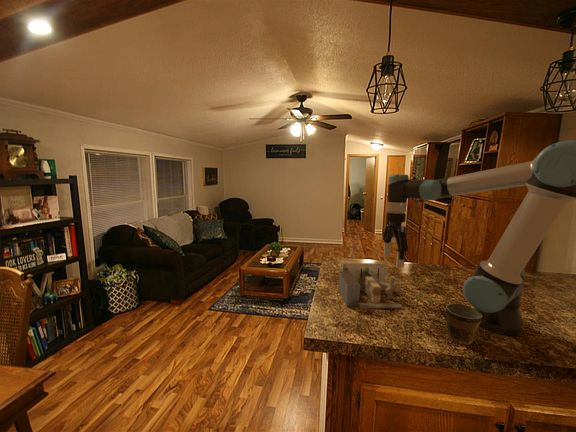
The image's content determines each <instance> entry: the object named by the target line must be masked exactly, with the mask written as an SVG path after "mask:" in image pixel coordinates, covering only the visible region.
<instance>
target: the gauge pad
mask: <svg viewBox="0 0 576 432" xmlns="http://www.w3.org/2000/svg"><path fill="white" fill-rule="evenodd" d="M363 291H364V293H365V294H366V295H367V297H368V298H369V300H370V301H371V302H372V303H381V292H382V290H381V287H380V286H379V284H378V283H377V282H376V281H375V280H374V279H373V277H372V276H371V275H370V274H368V276H365V284H364V290H363Z"/></svg>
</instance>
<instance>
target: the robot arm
mask: <svg viewBox="0 0 576 432" xmlns="http://www.w3.org/2000/svg"><path fill="white" fill-rule="evenodd" d="M387 184H388V185H387V201H386V211H387V212H386V213H385V214H386V215H385V216H386V217H385V219H386V220H385V221H386V223H385V227H384V231H383V234H382V241H383V242H384V244H383V245H384V246H383V258H391V252H392V251H391V249H392V239H393V237H394V238H395V242H396V247H397V249H396V263H395V264H396V265H395V267H396V268H404V267H405V266H404V265H405V254H406V252H408V251H409V248H408V241H407V240H408V239H407V234H406V231H407V230H406V229H407V227H406V226H405V225H402V224H403V223H405V222H406V221H407V220H406V219H407V213H406V212H407V207H408V202H407V201H408V199H411V200H424V201H437V200H438V199H445V198H449V197H455V196H462V195H468V194H469V195H471V194H476V193H483V192H490V191H497V190H504V189H510V188H512V189H513V188H518V187H525V186H526V188H527V191H528V192H527V193H526V195H525V196H524V198H523V200H522V202H521V203H520V205H519V206H518V208H517V210H516V212H515V214H514V215H513V217H512V218H511V220H510V222H509V223H508V225H507V227H506V229H505V230H504V232H503V233H502V236H501V237H500V239H499V241H498V242H497V244H496V246H495V248H494V249H493V251H492V253H491V254H490V256H489V258H488V259H486V260H481V261H480V262H479V264H478V265H477V267H476V269H475V270H474V272H473V274H472V275H471V277H468V278H467V279H466V280H465V282H464V283H463V286H462V293H463V296H464V298H465V300H466V301H467V302H468V304H470V306H471V307H472V308H474V309H476V310H478V311H479V312H480V313H481V314H482V319H481V322H480V325H479V327H481V328H482V329H484V330H487V331H489V332H492V333H496V334H499V335H504V336H511V337H512V336H513V337H514V336H519V335H521V334H523V332H524V323H523V320H522V314H521V310H520V307H521V301H522V296H523V290H524V283H525V279H526V268H525V267H526V266H527V264H528V263H529V261H530V259H531V258H532V256H533V255H534V254H535V252H536V250H537V249H538V247H539V246H540V244H541V243H542V242H543V240H544V239H545V236H546V235H547V234H548V232H549V231H550V229H551V228H552V226H553V224H554V223H555V222H556V220H557V219H558V217H559V216H560V214H561V213H562V211H563V209H564V208H565V206H566V205H567V204H568V203H570V202H573V201H576V140H573V139H571V140H570V139H569V140H564V141H563V140H562V141H559V142H555V143H552V144H550V145H548V146H547V147H545V148H544V149H542V150H541V151H540V152H539V153H538V154H537V156H535V158H534V159H533V160H530V161H526V162H520V163H516V164H515V163H514V164H510V165H504V166H500V167H497V168H496V167H495V168H491V169H485V170H480V171H476V172H475V171H474V172H469V173H466V174H465V173H464V174H460V175H456V176H455V175H454V176H450V177H445V178H439V179H410V177H409V174H391V175H389V177H388V182H387Z"/></svg>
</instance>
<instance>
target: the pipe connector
mask: <svg viewBox="0 0 576 432" xmlns="http://www.w3.org/2000/svg"><path fill="white" fill-rule="evenodd" d="M389 280H390V281H389V283H386V282H385V283H384V282H381V281H380V283H379V285H380V286H382V287H385V288H386V290H384V293H385V294H386V295H387V297H386V298H387V299H388V300H392V299H393V293H394V292H396V293H399V294H401V295H403V294H404V292H405V289H403V288H400V287H397V286H398V282H396V277H395V276H394V275H391V276H390V279H389ZM393 291H394V292H393Z"/></svg>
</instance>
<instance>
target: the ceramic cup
mask: <svg viewBox="0 0 576 432" xmlns="http://www.w3.org/2000/svg"><path fill="white" fill-rule="evenodd" d="M441 306H443V307H444V308H445V312H444V311H443V309H442V308H441ZM438 309H439V311H440V312H441V314H442V315H443V316H444V318H445V319H446V322H447V335H448V337H449V339H450V340H452V341H453V342H455V343H457V344H459V345H466V346H470V345H471V344H472V343H473V342H474V339H475V338H476V334H477V333H478V329H479V327H480V326H479V325H480V322H481V319H482V314H481V313H480V312H479V311H478V310H476V309H474V307H473V306H471V305H470V306H469V305H466V304H462V303H447V304H446V303H439V305H438Z"/></svg>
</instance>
